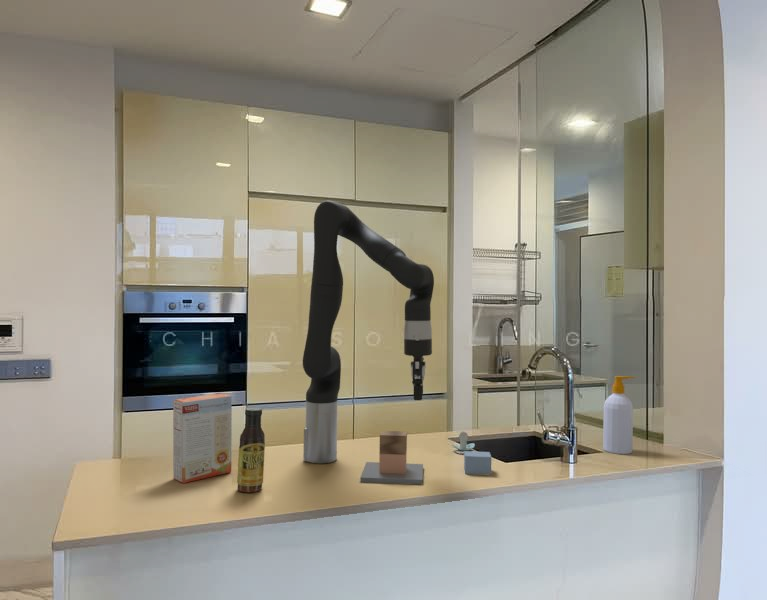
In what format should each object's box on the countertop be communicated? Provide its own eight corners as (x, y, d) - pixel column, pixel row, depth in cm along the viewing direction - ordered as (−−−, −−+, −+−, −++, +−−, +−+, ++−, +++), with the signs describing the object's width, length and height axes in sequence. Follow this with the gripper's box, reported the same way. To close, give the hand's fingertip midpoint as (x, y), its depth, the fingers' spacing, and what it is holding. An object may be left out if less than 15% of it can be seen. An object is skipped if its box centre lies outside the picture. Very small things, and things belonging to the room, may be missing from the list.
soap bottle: (639, 454, 175) (640, 378, 175) (609, 454, 175) (610, 377, 175) (627, 447, 184) (628, 374, 184) (599, 447, 184) (599, 374, 184)
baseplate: (360, 482, 145) (360, 458, 145) (366, 466, 159) (366, 444, 159) (422, 484, 144) (422, 460, 144) (423, 468, 158) (423, 446, 158)
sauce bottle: (240, 495, 134) (241, 412, 134) (234, 487, 140) (235, 407, 140) (267, 491, 137) (268, 410, 137) (260, 484, 143) (261, 405, 143)
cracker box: (221, 468, 156) (222, 392, 156) (232, 473, 151) (233, 395, 152) (171, 478, 146) (172, 398, 146) (181, 484, 142) (183, 401, 142)
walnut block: (379, 453, 149) (379, 435, 149) (381, 448, 154) (381, 430, 154) (405, 454, 149) (406, 435, 149) (406, 449, 154) (407, 431, 154)
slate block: (465, 474, 153) (465, 456, 153) (464, 468, 158) (464, 451, 158) (491, 475, 153) (491, 457, 153) (489, 469, 158) (489, 452, 158)
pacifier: (479, 454, 174) (471, 449, 180) (479, 434, 174) (472, 429, 179) (456, 456, 172) (449, 450, 178) (457, 435, 172) (450, 430, 178)
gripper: (405, 336, 160) (406, 393, 160) (402, 339, 146) (403, 401, 146) (432, 335, 159) (432, 393, 159) (431, 339, 145) (432, 402, 145)
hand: (418, 397), depth 152 cm, fingers open, 8 cm apart
